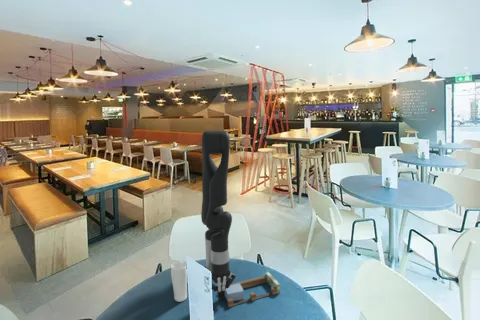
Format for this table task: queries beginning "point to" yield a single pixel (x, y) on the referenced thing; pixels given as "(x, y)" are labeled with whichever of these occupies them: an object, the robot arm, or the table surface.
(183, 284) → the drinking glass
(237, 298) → the brick
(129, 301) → the table surface
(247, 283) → the lane
